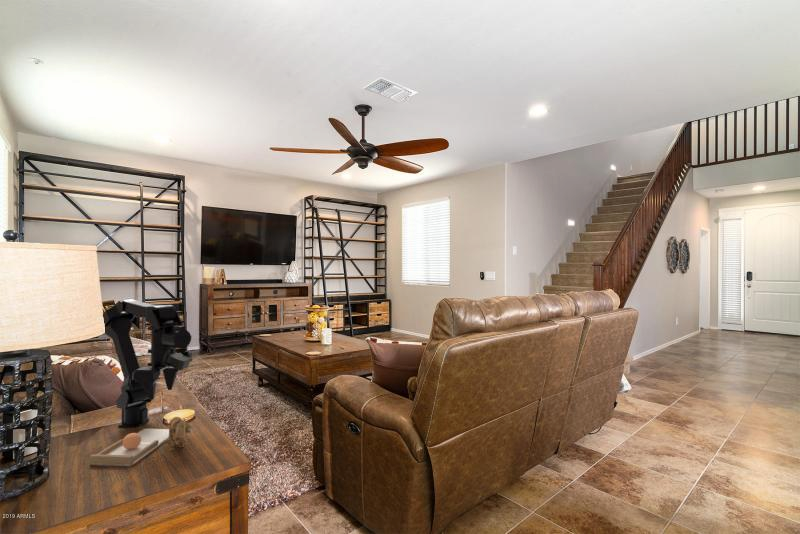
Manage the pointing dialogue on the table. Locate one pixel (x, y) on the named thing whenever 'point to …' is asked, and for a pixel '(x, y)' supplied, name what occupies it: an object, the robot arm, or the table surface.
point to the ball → (131, 441)
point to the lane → (125, 457)
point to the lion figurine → (178, 431)
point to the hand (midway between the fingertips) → (161, 394)
